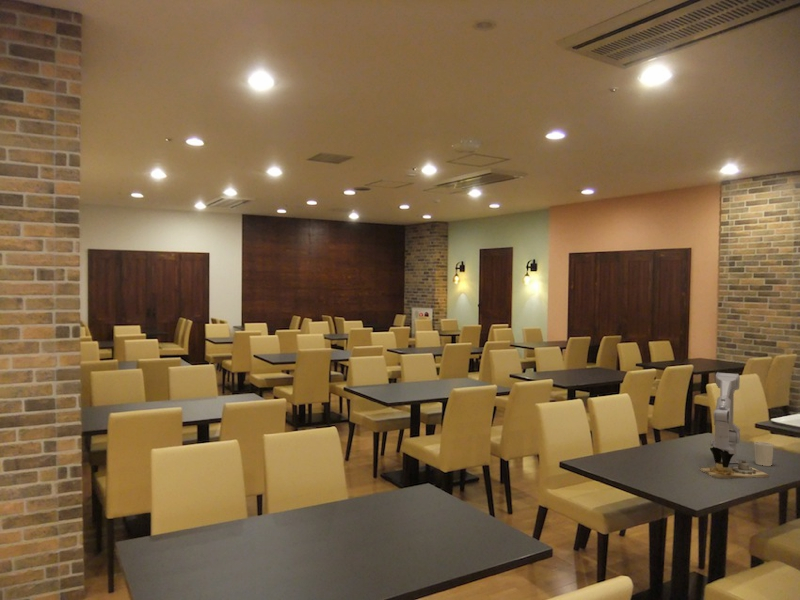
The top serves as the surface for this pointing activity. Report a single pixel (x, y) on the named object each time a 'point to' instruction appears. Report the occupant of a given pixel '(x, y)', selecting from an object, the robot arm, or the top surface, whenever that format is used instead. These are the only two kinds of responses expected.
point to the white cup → (763, 453)
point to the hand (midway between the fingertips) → (721, 465)
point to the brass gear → (721, 469)
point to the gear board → (738, 471)
